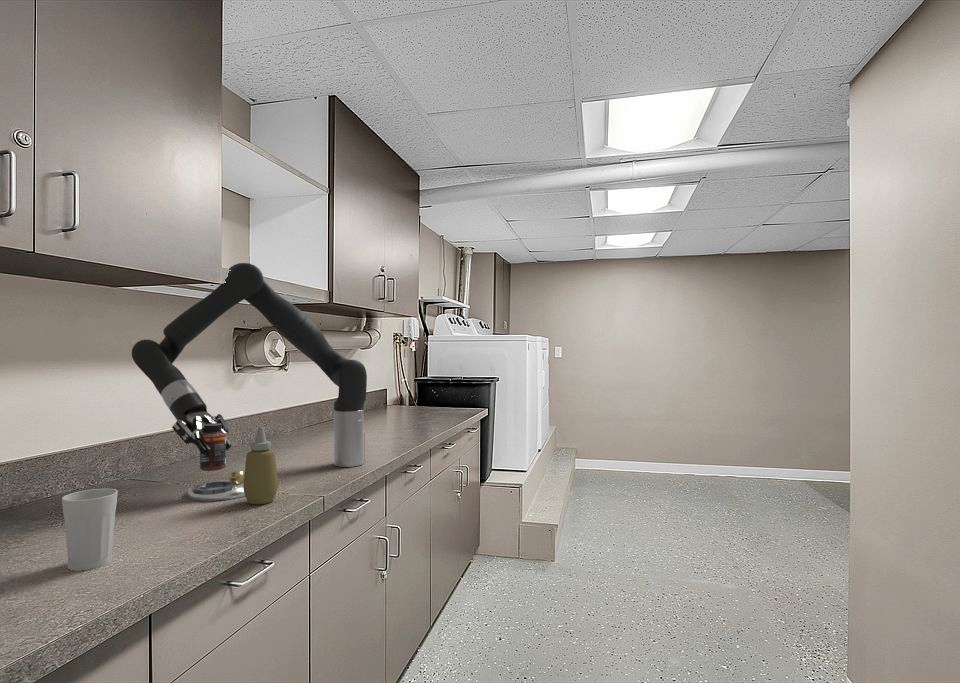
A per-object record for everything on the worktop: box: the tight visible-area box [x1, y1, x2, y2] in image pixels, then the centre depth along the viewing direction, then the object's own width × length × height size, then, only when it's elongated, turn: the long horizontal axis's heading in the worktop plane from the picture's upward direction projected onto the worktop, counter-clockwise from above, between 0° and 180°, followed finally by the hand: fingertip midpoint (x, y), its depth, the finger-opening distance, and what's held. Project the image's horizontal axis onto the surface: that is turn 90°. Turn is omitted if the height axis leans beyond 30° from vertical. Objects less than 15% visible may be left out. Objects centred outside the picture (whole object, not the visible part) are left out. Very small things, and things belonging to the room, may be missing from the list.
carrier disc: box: [187, 469, 246, 502], centre depth 143 cm, size 16×16×4 cm
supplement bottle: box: [199, 423, 227, 472], centre depth 140 cm, size 6×6×11 cm
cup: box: [61, 488, 119, 572], centre depth 97 cm, size 8×8×12 cm
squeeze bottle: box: [243, 426, 279, 505], centre depth 135 cm, size 8×8×18 cm
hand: (218, 450), depth 140 cm, fingers closed on supplement bottle, 6 cm apart
